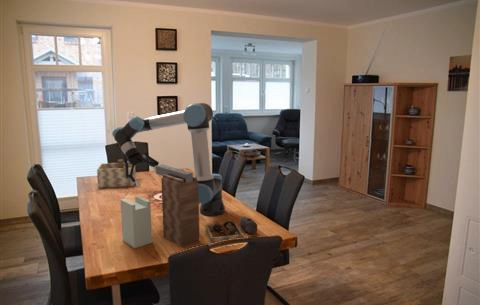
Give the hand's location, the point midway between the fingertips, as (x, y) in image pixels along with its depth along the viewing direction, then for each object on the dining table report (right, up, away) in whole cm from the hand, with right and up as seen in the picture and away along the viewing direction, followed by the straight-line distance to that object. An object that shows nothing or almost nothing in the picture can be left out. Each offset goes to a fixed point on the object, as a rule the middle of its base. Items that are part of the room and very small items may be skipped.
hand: (150, 181), depth 193 cm
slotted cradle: (0, -27, -25) cm, 37 cm away
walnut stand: (+21, -26, -22) cm, 40 cm away
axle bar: (+17, +4, -23) cm, 29 cm away
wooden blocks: (-46, -9, +84) cm, 97 cm away
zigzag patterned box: (-47, -8, +85) cm, 97 cm away
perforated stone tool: (+53, -25, -11) cm, 60 cm away
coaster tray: (+42, -26, -18) cm, 52 cm away
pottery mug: (+42, -26, -17) cm, 52 cm away
